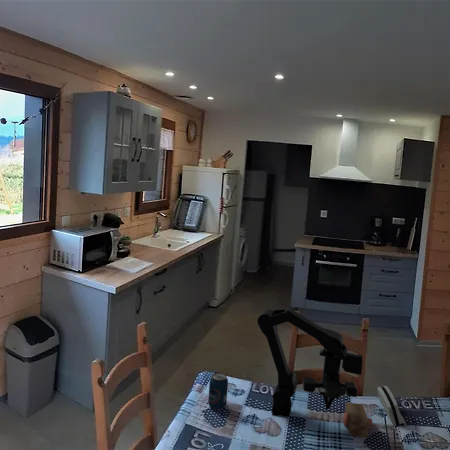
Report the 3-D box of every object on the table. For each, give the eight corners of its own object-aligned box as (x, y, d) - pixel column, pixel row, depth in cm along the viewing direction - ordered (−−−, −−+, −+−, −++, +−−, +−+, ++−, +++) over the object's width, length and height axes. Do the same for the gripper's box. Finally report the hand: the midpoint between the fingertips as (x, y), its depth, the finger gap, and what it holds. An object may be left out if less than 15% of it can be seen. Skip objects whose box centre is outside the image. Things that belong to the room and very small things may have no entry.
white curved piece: (406, 426, 163) (400, 401, 162) (393, 429, 163) (387, 404, 162) (392, 402, 180) (386, 379, 178) (380, 404, 180) (375, 382, 179)
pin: (345, 428, 159) (346, 416, 158) (342, 421, 163) (344, 410, 163) (372, 431, 158) (373, 420, 158) (369, 424, 163) (370, 413, 162)
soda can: (204, 406, 167) (206, 376, 165) (214, 398, 173) (216, 370, 171) (219, 413, 163) (222, 382, 161) (229, 405, 169) (231, 375, 167)
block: (350, 435, 155) (352, 420, 154) (344, 416, 167) (345, 402, 166) (367, 437, 155) (369, 422, 154) (360, 418, 166) (362, 404, 166)
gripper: (307, 376, 151) (303, 418, 154) (363, 382, 150) (357, 424, 152) (304, 361, 162) (300, 401, 165) (356, 367, 161) (351, 407, 163)
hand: (327, 408), depth 161 cm, fingers closed
